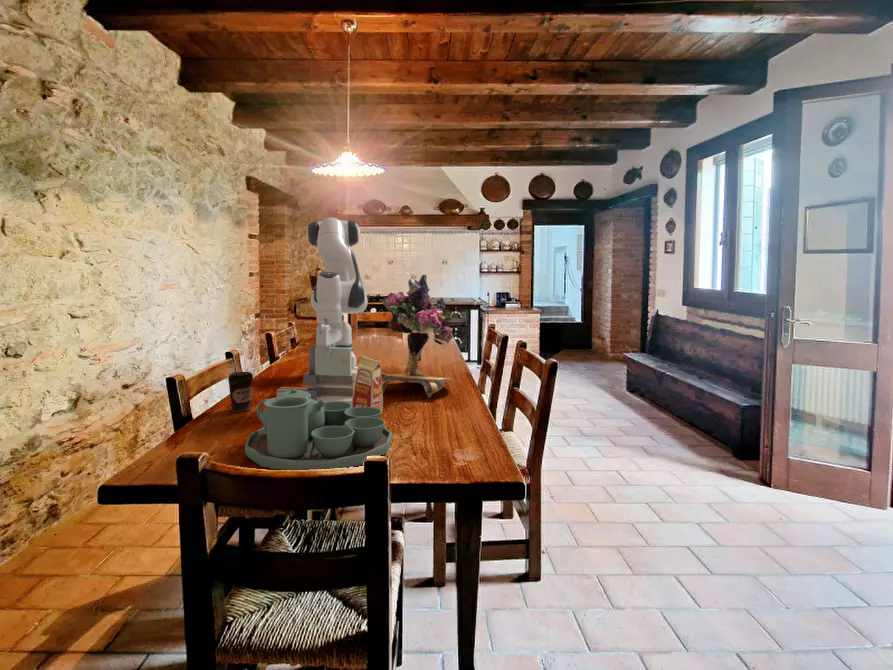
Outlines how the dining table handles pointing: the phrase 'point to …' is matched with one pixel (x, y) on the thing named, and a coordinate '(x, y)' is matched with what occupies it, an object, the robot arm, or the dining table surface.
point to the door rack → (288, 389)
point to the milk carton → (368, 385)
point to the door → (330, 361)
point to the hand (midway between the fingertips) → (329, 356)
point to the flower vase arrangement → (423, 319)
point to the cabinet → (331, 387)
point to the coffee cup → (240, 390)
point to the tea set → (315, 433)
